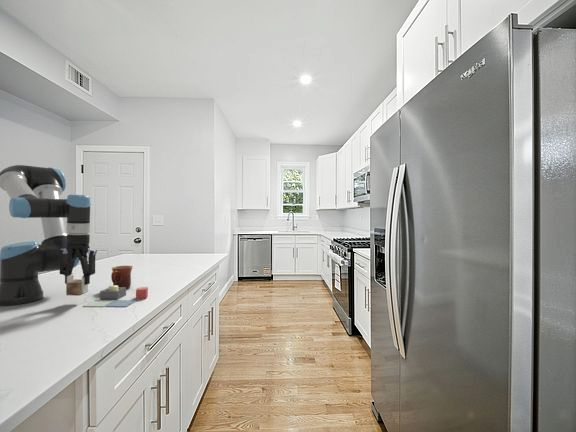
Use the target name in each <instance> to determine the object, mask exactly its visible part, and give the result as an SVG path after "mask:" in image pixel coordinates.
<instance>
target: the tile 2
mask: <svg viewBox="0 0 576 432" xmlns="http://www.w3.org/2000/svg"><path fill="white" fill-rule="evenodd" d="M135 302H137V299H118V300H115V301H114V302H112V303H110V304H108V305H106V306H105V307H106V308H127V307H129V306H131V305H132V304H133V303H135Z"/></svg>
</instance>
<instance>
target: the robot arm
mask: <svg viewBox="0 0 576 432" xmlns="http://www.w3.org/2000/svg"><path fill="white" fill-rule="evenodd" d="M66 181H67V180H66V176H65V174H64V172H63V171H62V170H61V169H58V168H54V167H43V166H42V167H41V166H35V165H34V166H32V165H25V164H24V165H23V164H16V165H10V166H7V167H6V168H3V169H2V170H1V171H0V189H1V190H3V191H5V192H6V194H7V195H8V197H9V198H10V200H9V203H8V204H9V205H8V209H9V210H8V211H9V215H10V216H11V217H12V218H21V219H27V218H28V219H30V218H31V219H33V218H35V219H36V218H37V219H38V218H40V221H41V226H42V230H43V235H44V239H43V240H42V241H41V243H39V241H23V242H22V241H21V242H16V243H12V244H7V245H5V246H2V247H1V248H0V306H16V305H22V304H23V305H24V304H28V303H33V302H36V301H40V300H41V299H43V298H44V290H43V289H42V287H41V286H42V285H41V283H40V281H39V273H43V272H44V273H45V272H51V271H59V275H63V276H64V284H65V285H66V283H67V282H70V281H72V280H74V274H73V270H74V269H75V268H76V267H77V266H78V265H79V263H80V266H81V270H82V273H83V274H82V276H81V280H82V288H81V293H84V294H86V293H88V292H89V291H88V289H89V288H88V285H89V284H90V283H91V282H90V280H91V276H92V275H95V274H96V255H97V252H98V250H97V249H92V248H91V247H90V246H89V245H90V236H91V235H90V234H89V233H90V231H91V223H90V222H91V205H92V204H91V197H90V195H85V194H68V195H67V197H66V198H61V195H62V194H63V192H65V190H66V188H67V187H66V185H67V184H66V183H67V182H66Z"/></svg>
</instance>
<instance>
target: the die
mask: <svg viewBox="0 0 576 432" xmlns="http://www.w3.org/2000/svg"><path fill="white" fill-rule="evenodd" d="M148 293H149V287H148V286H141V287H137V288H136V289H135V300H146V299H148V296H149V295H148Z"/></svg>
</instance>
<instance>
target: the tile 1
mask: <svg viewBox="0 0 576 432" xmlns="http://www.w3.org/2000/svg"><path fill="white" fill-rule="evenodd" d="M114 301H116V300H100V299H94V300H93V301H91V302H89V303H86V304H84V305H82V307H83V308H85V307H86V308H90V307H91V308H104V307H105V306H106V305H108V304H110V303H112V302H114Z"/></svg>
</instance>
